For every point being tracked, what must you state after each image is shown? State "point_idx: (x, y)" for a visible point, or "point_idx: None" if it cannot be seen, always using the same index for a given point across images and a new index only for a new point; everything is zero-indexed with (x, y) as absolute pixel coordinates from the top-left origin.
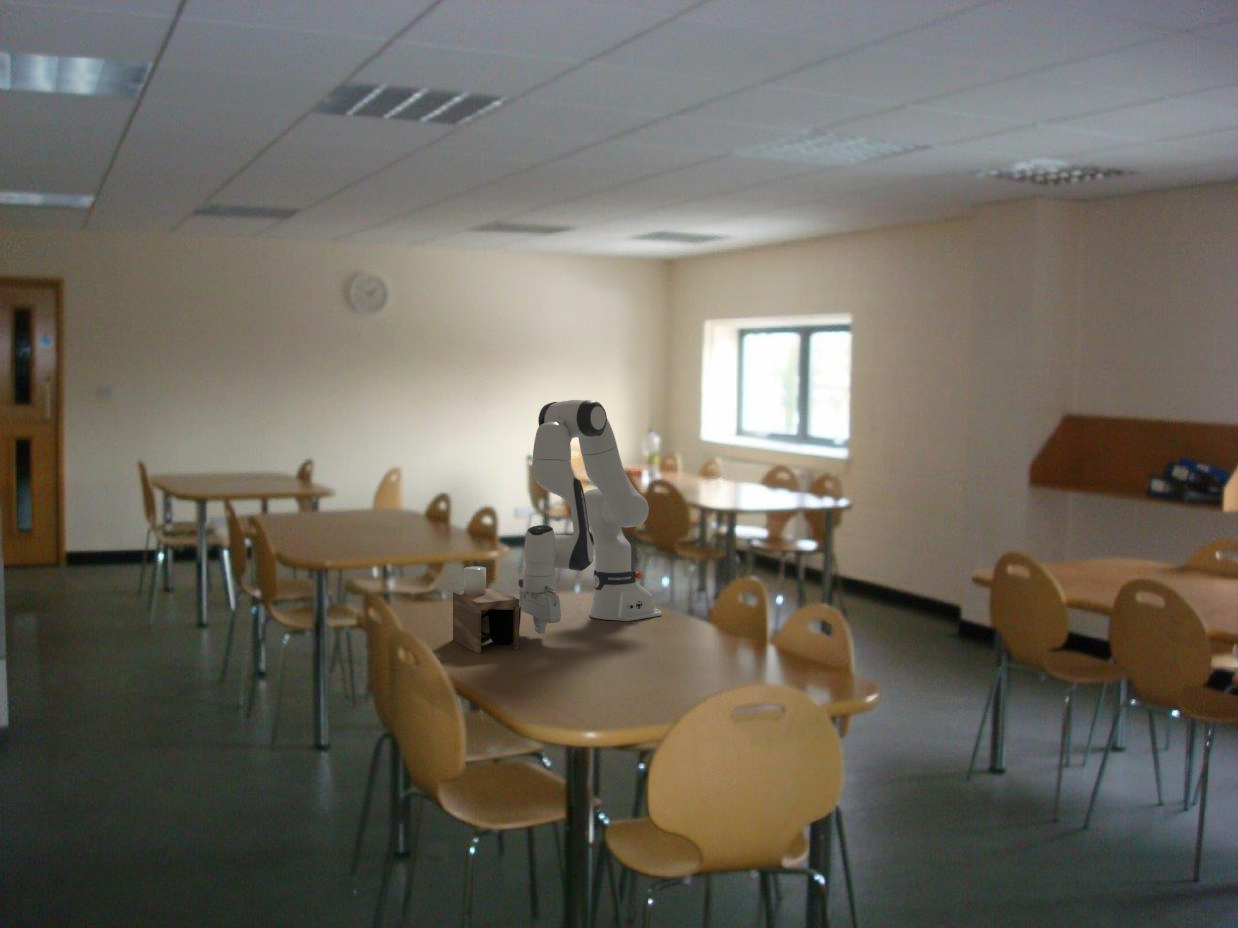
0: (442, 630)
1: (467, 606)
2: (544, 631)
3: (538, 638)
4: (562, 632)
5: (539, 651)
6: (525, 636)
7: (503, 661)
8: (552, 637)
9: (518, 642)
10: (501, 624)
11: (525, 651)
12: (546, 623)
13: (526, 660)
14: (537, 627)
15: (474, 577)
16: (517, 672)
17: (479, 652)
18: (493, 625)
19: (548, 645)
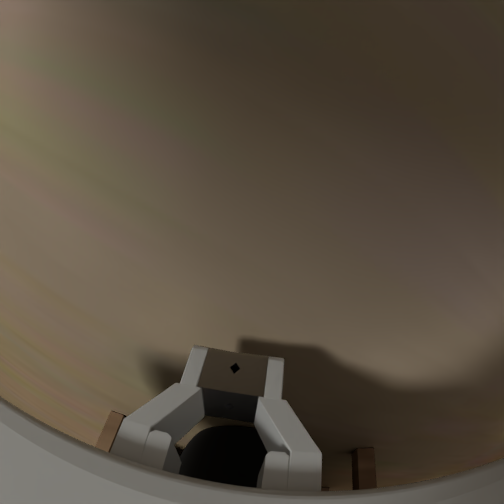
0: (44, 417)
1: None
2: (282, 369)
3: (249, 342)
4: (130, 68)
5: (462, 416)
6: (160, 359)
7: (433, 471)
8: (278, 253)
9: (374, 470)
10: None
11: (419, 441)
12: (310, 437)
13: (477, 445)
14: (236, 416)
15: None
16: (498, 456)
17: (327, 489)
18: None
19: (438, 370)
